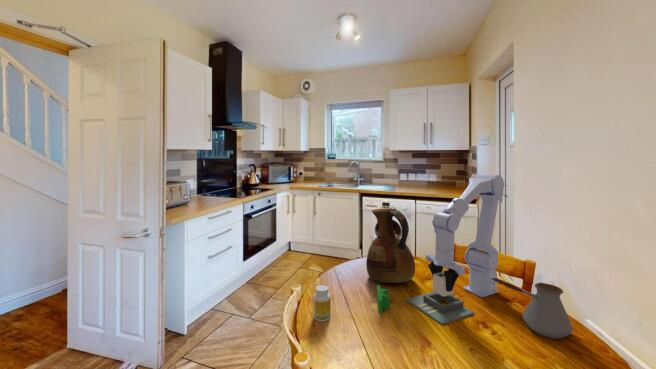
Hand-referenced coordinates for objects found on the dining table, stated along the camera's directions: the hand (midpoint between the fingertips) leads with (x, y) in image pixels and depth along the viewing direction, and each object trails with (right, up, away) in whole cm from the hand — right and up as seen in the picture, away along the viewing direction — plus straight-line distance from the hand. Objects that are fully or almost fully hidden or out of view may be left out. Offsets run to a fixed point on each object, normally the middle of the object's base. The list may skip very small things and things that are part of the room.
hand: (443, 287), depth 94 cm
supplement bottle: (-41, -7, -6) cm, 42 cm away
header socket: (-2, -6, 0) cm, 7 cm away
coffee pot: (+19, -8, -13) cm, 24 cm away
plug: (0, -2, 0) cm, 2 cm away
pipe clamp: (-20, -7, +1) cm, 21 cm away
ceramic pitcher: (-13, -5, +22) cm, 26 cm away
